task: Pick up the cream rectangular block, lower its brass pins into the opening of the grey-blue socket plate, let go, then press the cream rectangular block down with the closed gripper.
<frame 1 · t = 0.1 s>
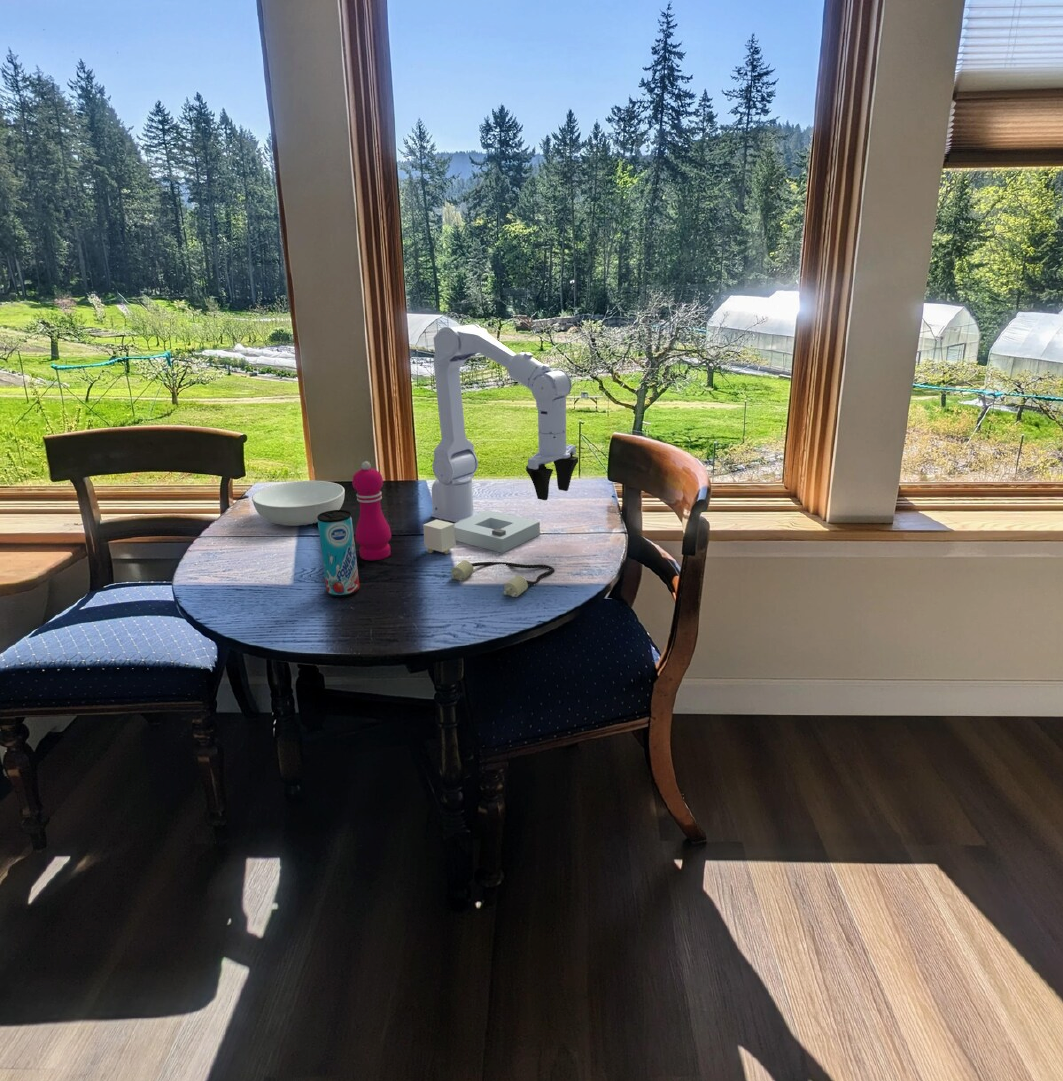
hand: (553, 494, 159), 10 cm above the table, tool pointing down, fingers open, 7 cm apart
serving bowl: (302, 521, 179), on the table
cream rectangular block: (440, 551, 157), on the table
beverage can: (343, 592, 139), on the table
pepper mill: (375, 555, 156), on the table
socket plate: (494, 536, 165), on the table
cable: (502, 579, 145), on the table
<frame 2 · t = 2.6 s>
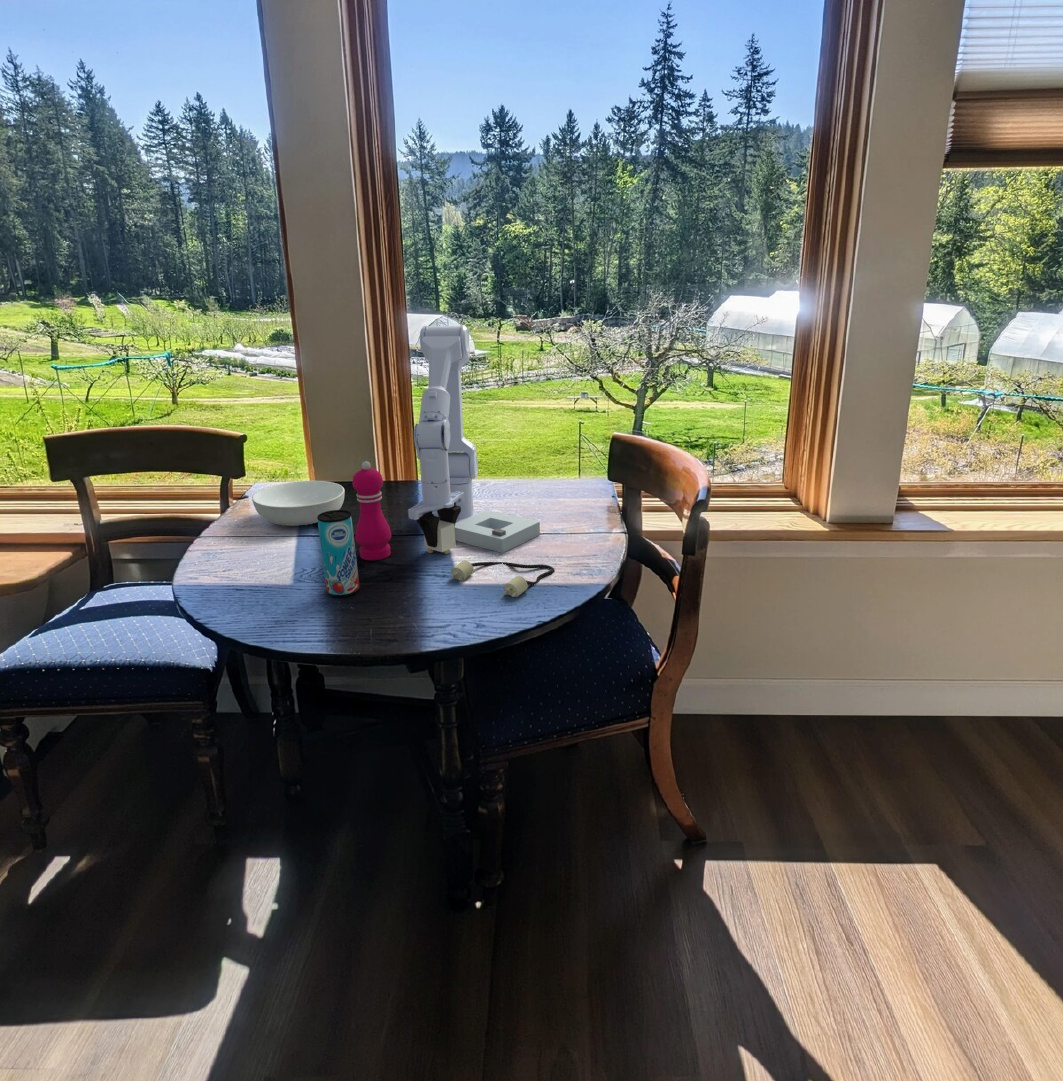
hand: (439, 542, 157), 2 cm above the table, tool pointing down, fingers closed on cream rectangular block, 4 cm apart
cream rectangular block: (440, 551, 157), on the table, touching gripper
everything else where it was.
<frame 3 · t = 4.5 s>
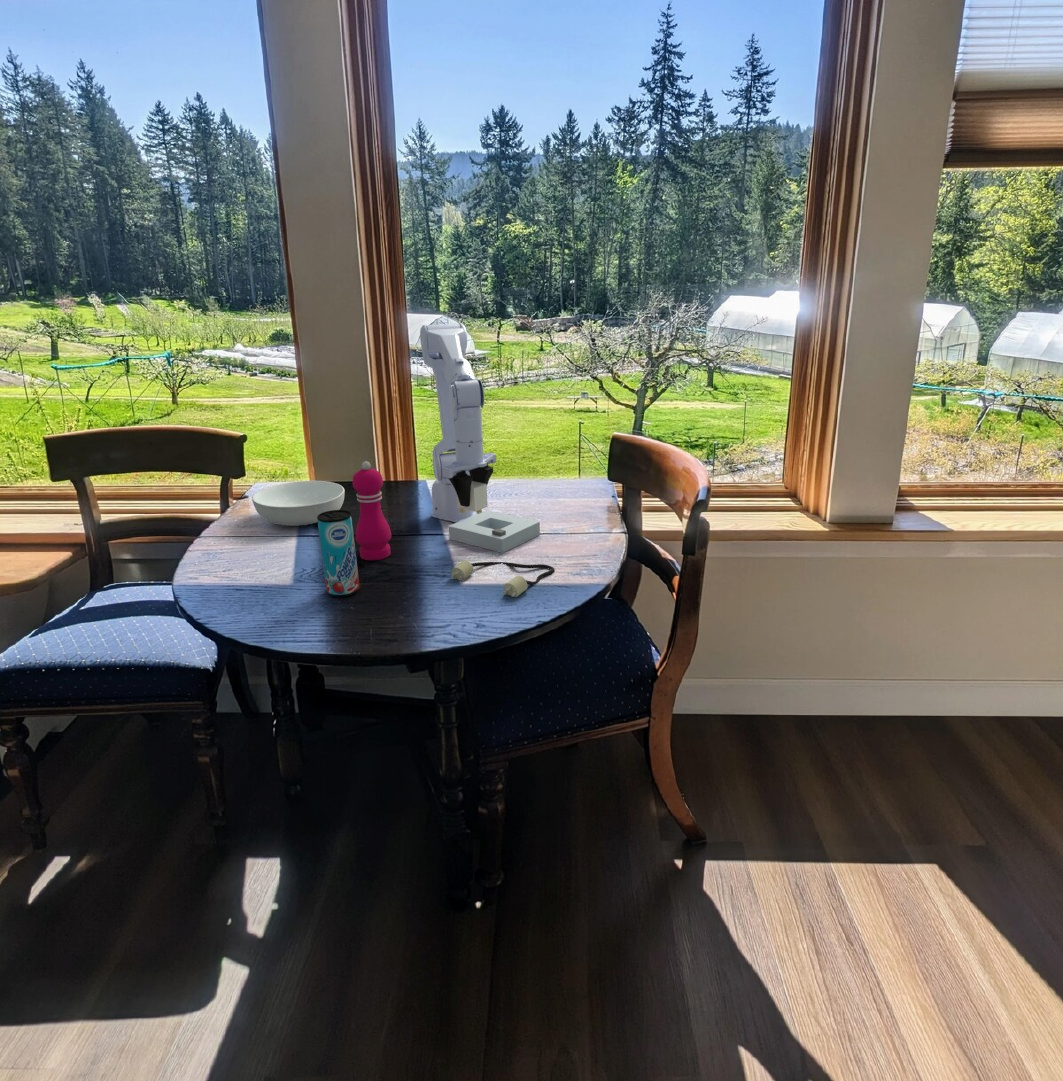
hand: (472, 502, 159), 9 cm above the table, tool pointing down, fingers closed on cream rectangular block, 4 cm apart
cream rectangular block: (472, 511, 160), point 7 cm above the table, touching gripper
everything else where it was.
when the fingers open (4 cm above the table, at t = 6.4 s): cream rectangular block drops 2 cm, resting in socket plate.
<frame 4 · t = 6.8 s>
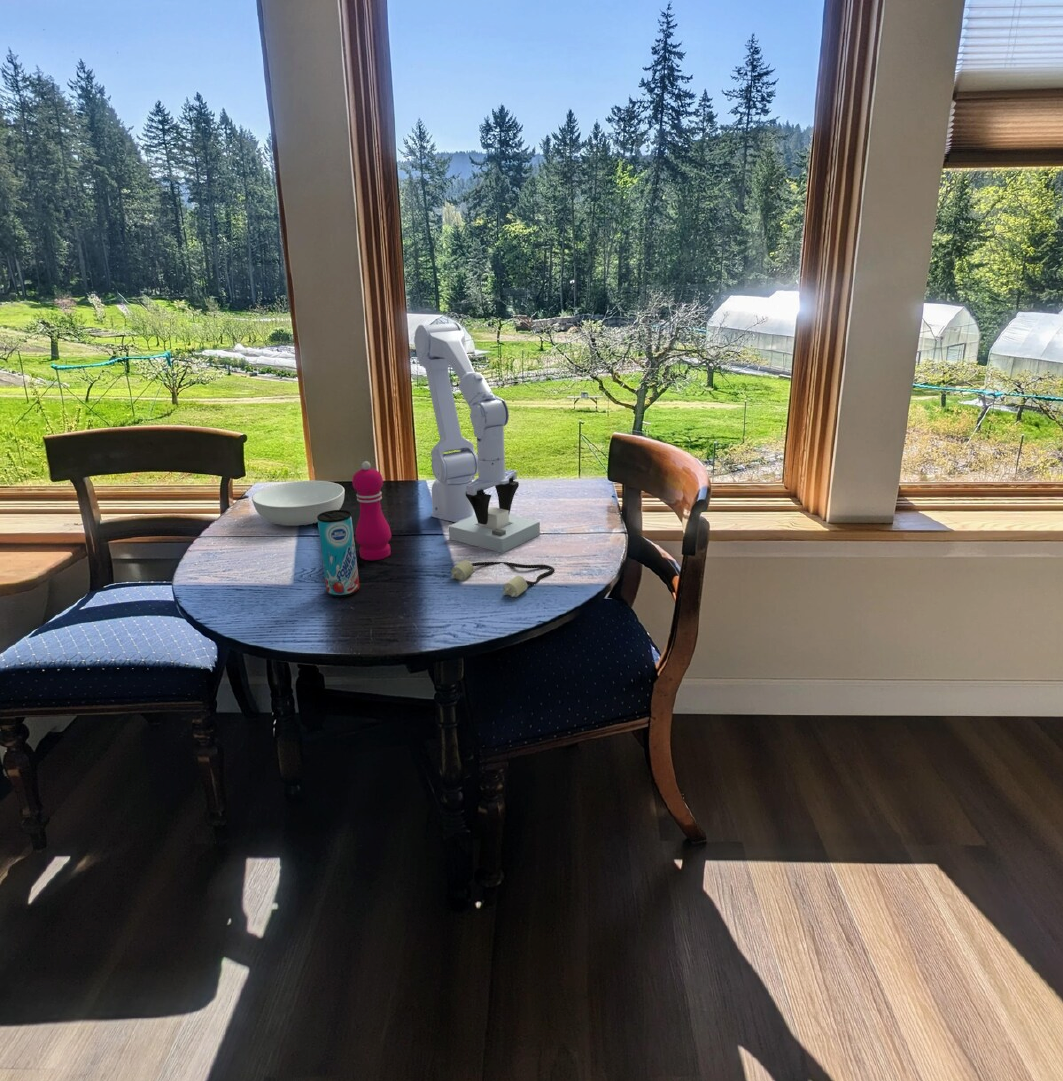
hand: (493, 518, 163), 4 cm above the table, tool pointing down, fingers open, 7 cm apart
cream rectangular block: (494, 536, 165), resting in socket plate
everything else where it was.
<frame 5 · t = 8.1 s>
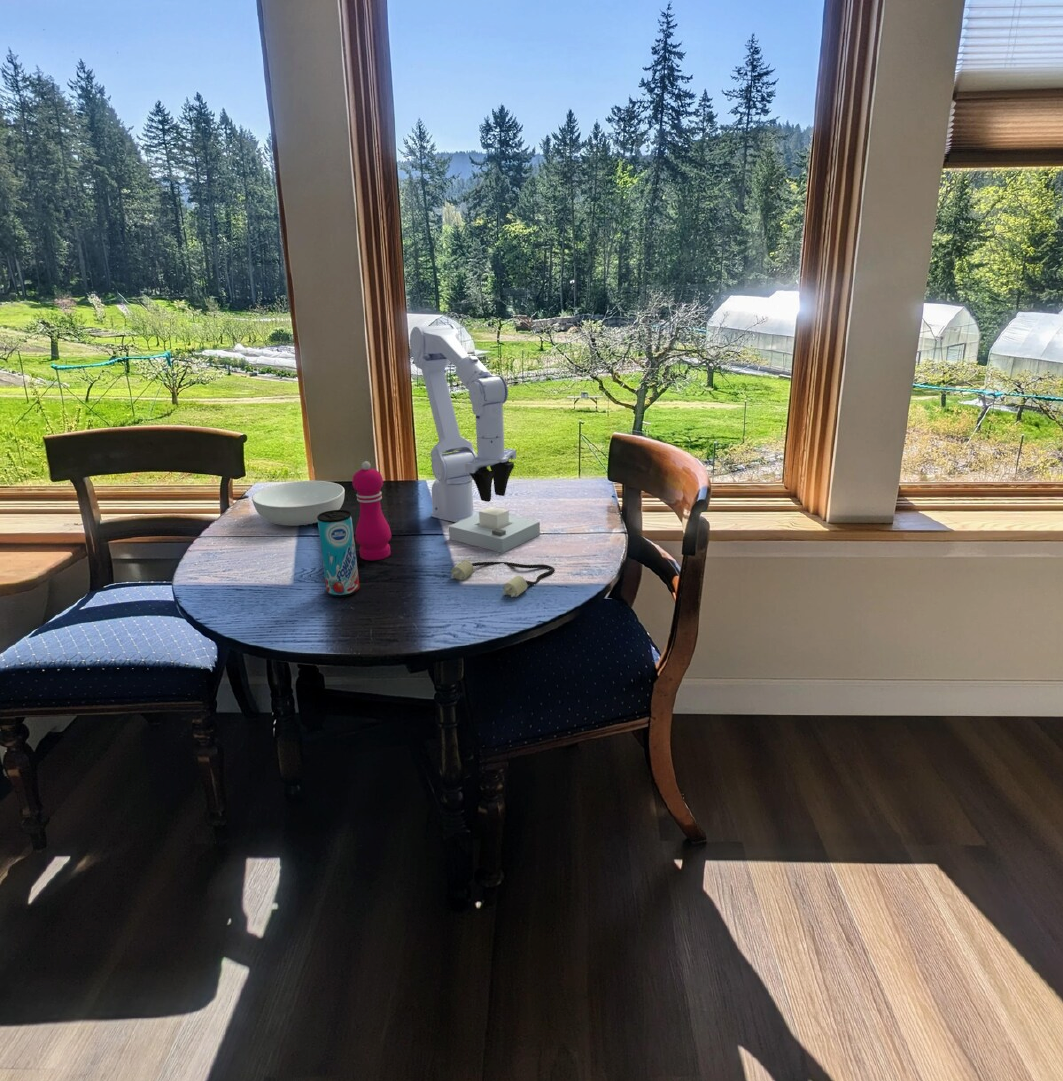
hand: (493, 497, 162), 9 cm above the table, tool pointing down, fingers open, 4 cm apart
nothing on the table moved.
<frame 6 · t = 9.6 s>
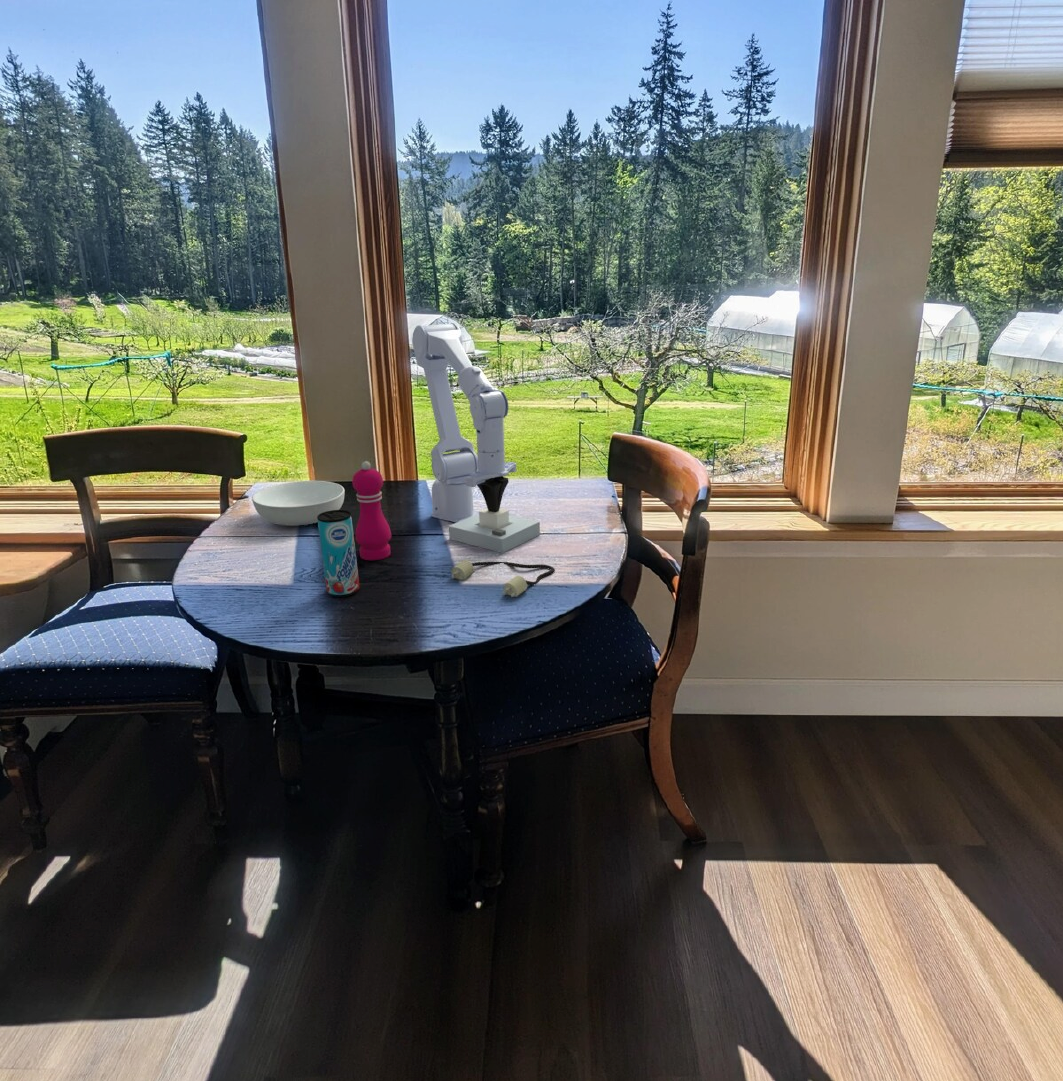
hand: (493, 511, 163), 6 cm above the table, tool pointing down, fingers closed, pressing on cream rectangular block
cream rectangular block: (494, 536, 165), resting in socket plate, touching gripper
everything else where it was.
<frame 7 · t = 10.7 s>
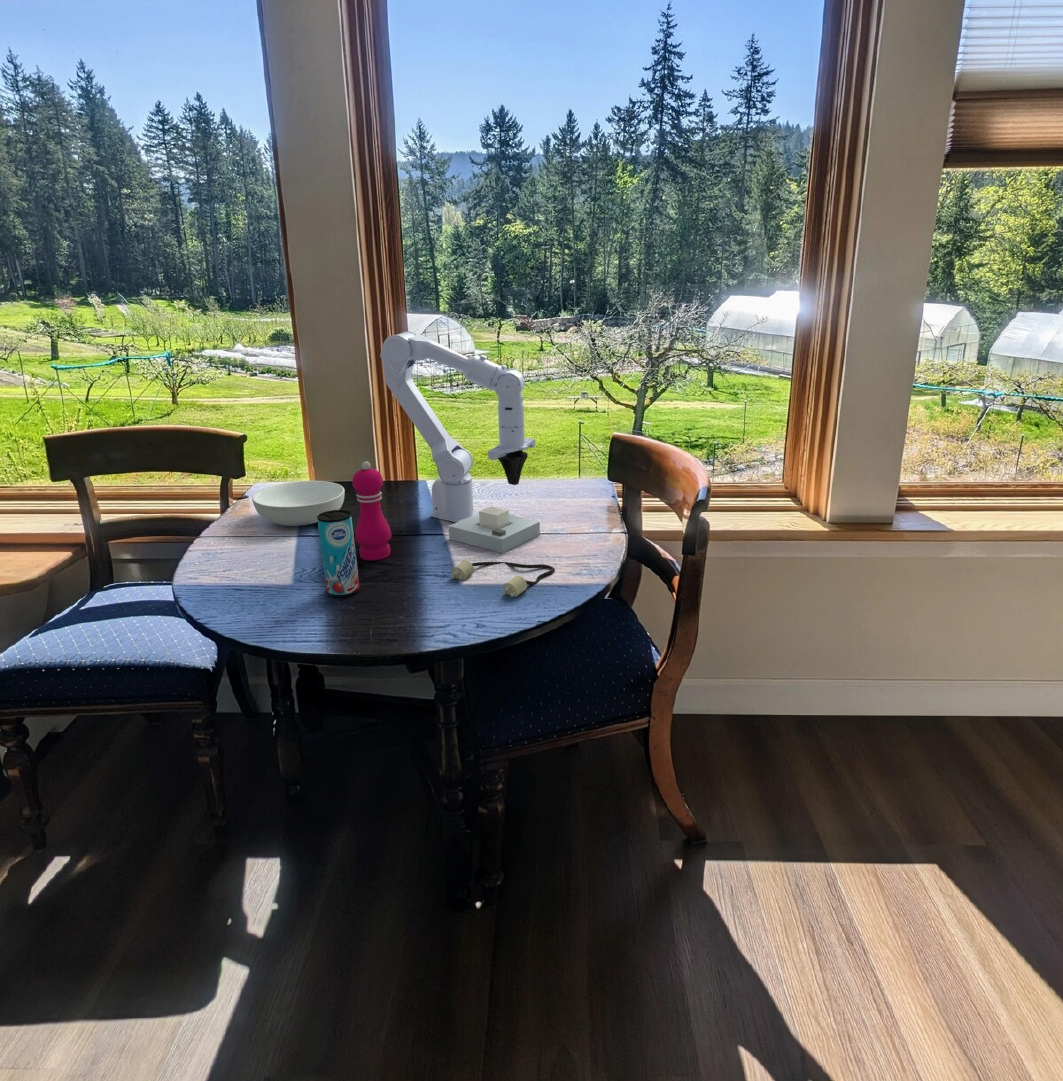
hand: (513, 483, 173), 8 cm above the table, tool pointing down, fingers closed
cream rectangular block: (494, 536, 165), resting in socket plate
everything else where it was.
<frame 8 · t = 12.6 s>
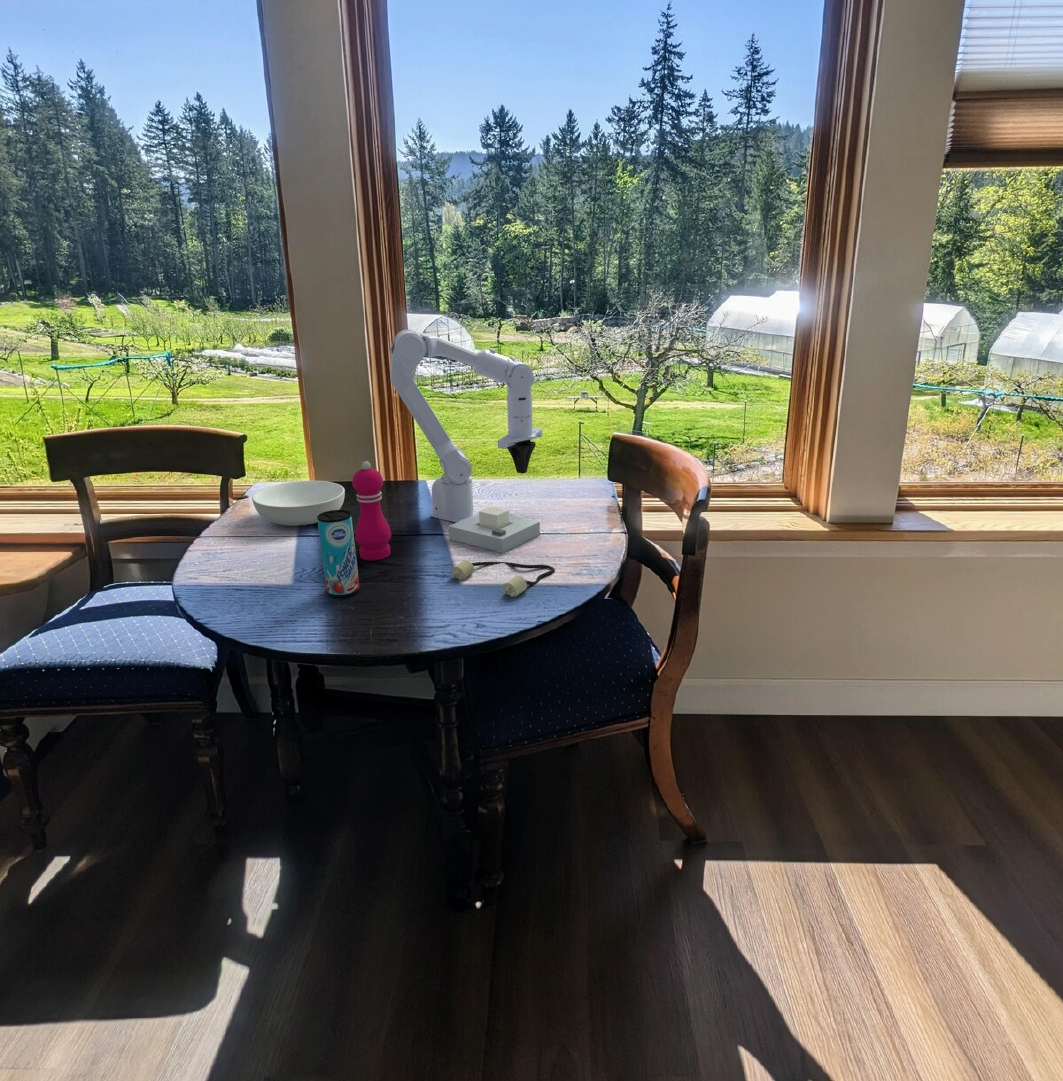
hand: (521, 472, 178), 9 cm above the table, tool pointing down, fingers closed
nothing on the table moved.
at the end: cream rectangular block 0.1 cm off-centre on the socket plate, point 0.0 cm above the socket plate's base; cream rectangular block tilted 0°; the gripper is holding nothing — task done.
